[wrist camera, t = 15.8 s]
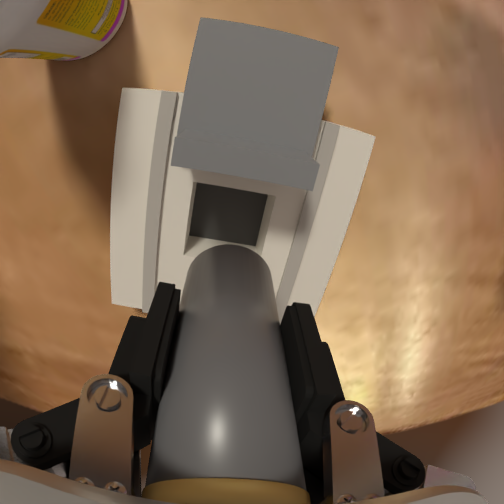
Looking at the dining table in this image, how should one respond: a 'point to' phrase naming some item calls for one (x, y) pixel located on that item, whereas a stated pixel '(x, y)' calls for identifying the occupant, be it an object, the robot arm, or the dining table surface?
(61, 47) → the supplement bottle
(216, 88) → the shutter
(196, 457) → the plug
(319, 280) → the socket
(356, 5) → the dining table surface
